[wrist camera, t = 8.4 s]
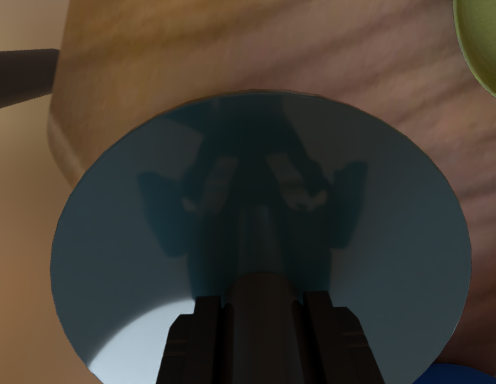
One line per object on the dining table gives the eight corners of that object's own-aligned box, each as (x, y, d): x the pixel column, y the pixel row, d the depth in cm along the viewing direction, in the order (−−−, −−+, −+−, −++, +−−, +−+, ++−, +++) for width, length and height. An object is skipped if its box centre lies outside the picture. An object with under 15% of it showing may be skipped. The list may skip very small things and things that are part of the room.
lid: (108, 419, 16) (32, 634, 10) (15, 98, 11) (-255, 169, 5) (423, 404, 16) (527, 614, 10) (490, 73, 10) (788, 116, 5)
